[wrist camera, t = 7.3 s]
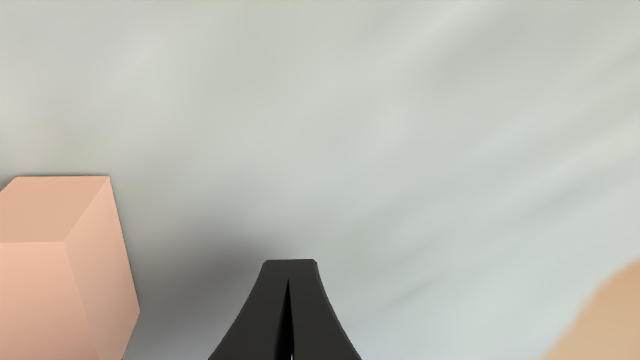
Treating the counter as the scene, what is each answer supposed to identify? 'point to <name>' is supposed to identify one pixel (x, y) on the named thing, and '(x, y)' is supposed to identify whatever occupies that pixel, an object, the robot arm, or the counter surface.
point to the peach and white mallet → (63, 271)
